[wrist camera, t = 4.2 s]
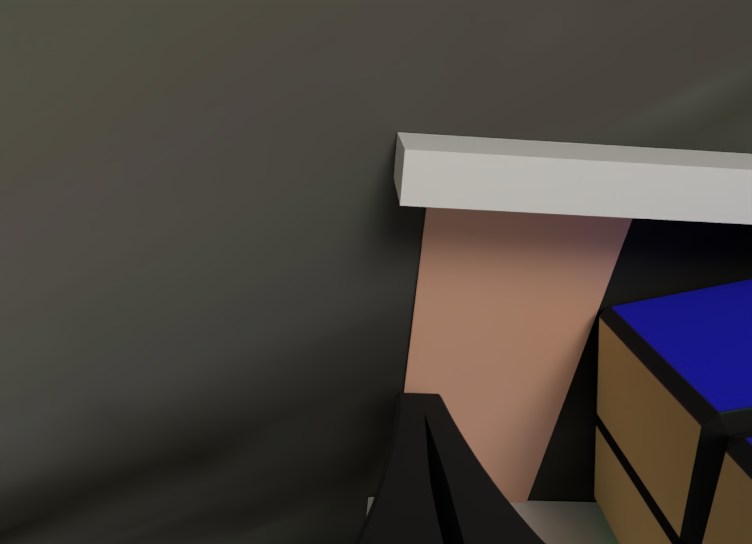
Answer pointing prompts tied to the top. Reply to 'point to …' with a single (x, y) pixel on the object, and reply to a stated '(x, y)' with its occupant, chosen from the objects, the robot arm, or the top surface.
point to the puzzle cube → (676, 417)
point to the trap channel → (533, 282)
